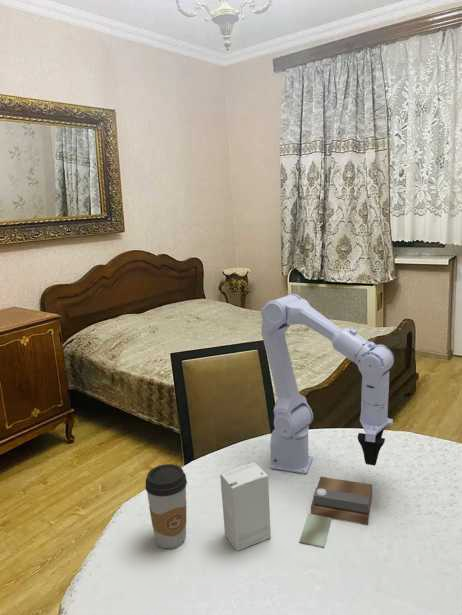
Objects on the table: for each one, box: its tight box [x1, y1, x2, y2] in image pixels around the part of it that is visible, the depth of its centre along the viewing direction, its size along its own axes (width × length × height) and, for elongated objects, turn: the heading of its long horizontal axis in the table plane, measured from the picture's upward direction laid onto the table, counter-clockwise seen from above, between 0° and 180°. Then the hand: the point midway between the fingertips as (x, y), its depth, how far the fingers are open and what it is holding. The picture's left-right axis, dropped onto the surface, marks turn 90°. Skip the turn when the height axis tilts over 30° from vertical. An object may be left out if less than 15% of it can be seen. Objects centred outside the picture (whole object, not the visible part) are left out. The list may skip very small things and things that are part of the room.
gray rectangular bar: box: [312, 487, 369, 513], centre depth 106 cm, size 12×3×2 cm, turn 70°
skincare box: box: [219, 461, 272, 551], centre depth 99 cm, size 8×6×15 cm
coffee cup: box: [144, 463, 188, 549], centre depth 100 cm, size 8×8×15 cm
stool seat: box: [298, 476, 373, 549], centre depth 106 cm, size 12×22×2 cm, turn 160°
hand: (372, 455), depth 112 cm, fingers open, 7 cm apart
